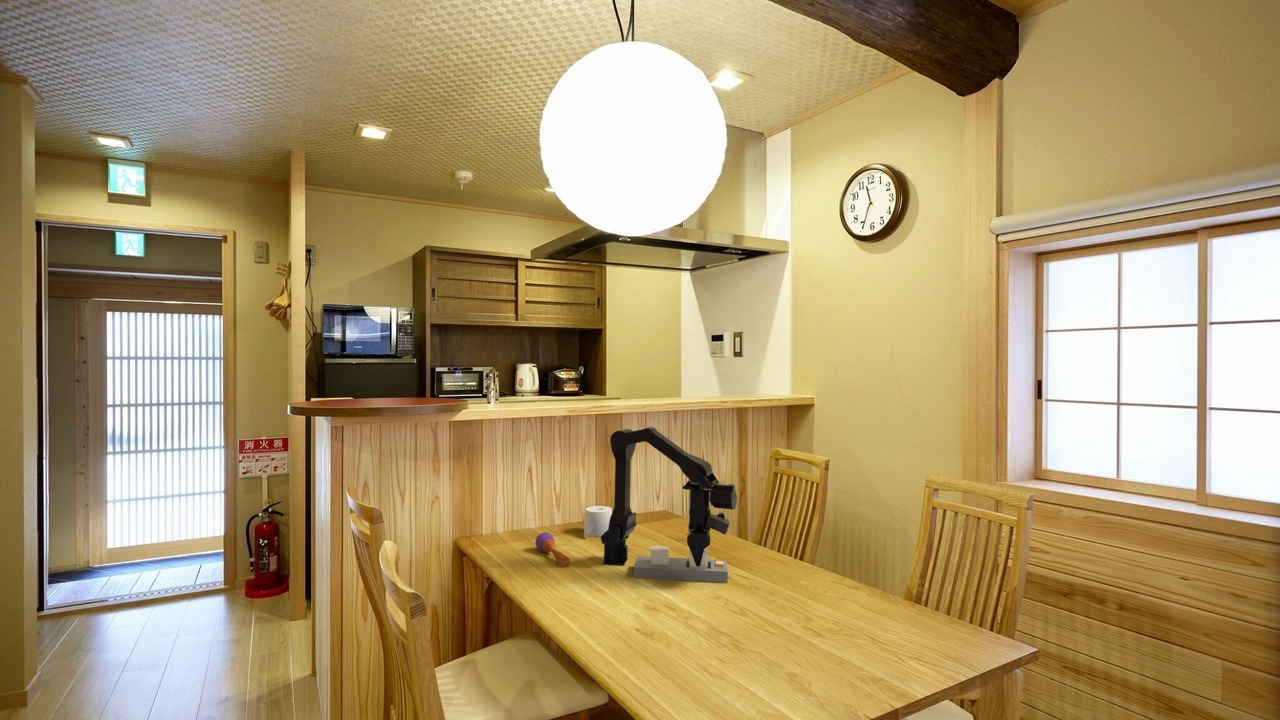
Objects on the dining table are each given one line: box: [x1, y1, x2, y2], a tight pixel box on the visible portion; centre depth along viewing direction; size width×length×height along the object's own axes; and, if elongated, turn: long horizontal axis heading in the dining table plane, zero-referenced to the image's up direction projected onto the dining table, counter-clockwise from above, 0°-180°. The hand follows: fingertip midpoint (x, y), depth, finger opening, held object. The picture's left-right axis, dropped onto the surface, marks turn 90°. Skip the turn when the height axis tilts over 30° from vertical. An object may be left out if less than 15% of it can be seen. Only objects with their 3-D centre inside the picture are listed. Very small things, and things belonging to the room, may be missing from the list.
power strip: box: [632, 545, 729, 584], centre depth 177 cm, size 26×10×7 cm, turn 84°
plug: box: [689, 548, 709, 568], centre depth 176 cm, size 5×4×7 cm
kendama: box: [535, 532, 571, 568], centre depth 190 cm, size 6×6×20 cm
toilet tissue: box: [583, 505, 613, 539], centre depth 215 cm, size 9×13×9 cm
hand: (698, 560), depth 176 cm, fingers open, 9 cm apart
